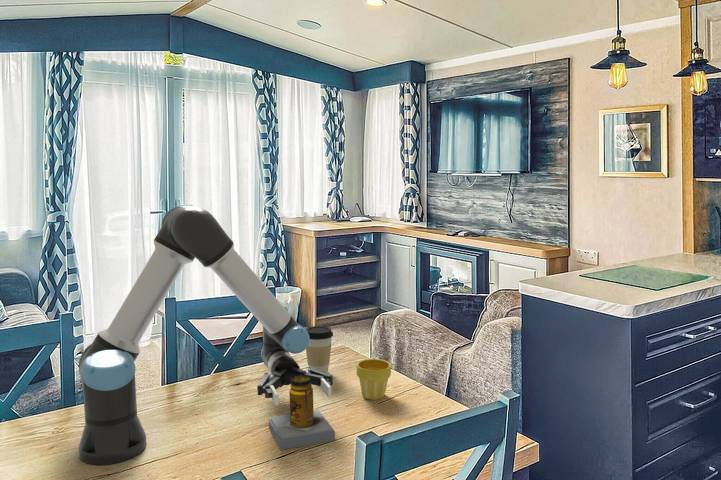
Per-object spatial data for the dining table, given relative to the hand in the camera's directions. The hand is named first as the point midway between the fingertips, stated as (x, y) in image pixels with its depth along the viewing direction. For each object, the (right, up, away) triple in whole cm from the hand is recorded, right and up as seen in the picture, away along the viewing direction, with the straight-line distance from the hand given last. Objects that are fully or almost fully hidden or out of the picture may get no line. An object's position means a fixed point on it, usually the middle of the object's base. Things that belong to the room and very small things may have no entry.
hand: (303, 396), depth 146 cm
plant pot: (+18, -8, +29) cm, 35 cm away
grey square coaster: (-1, -11, +5) cm, 12 cm away
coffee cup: (0, -6, +48) cm, 48 cm away
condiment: (0, -8, +4) cm, 9 cm away
